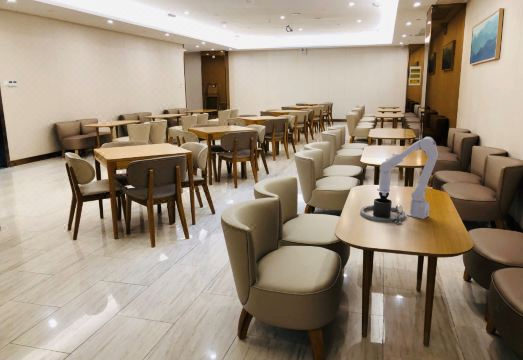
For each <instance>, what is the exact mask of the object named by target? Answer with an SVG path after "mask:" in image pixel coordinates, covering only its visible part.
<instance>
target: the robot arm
mask: <svg viewBox="0 0 523 360" xmlns="http://www.w3.org/2000/svg"><path fill="white" fill-rule="evenodd" d="M421 150H422V151H424V152H425V154H426V155H427V159H426V162H425V164H424V167H423V169H422V172H421V175H420V177H419V180H418V182H417V185H416V187H415V189H414V190H413V191H412V193H411V195H410V197H411V198H410V199H411V200H410V208H409V209H410V210H409V213H407V214H406V215H407V216H408V217H413V218H418V219H421V220H424V219H426V218H428V217H429V216H430V202H429V201H426V199H425V196H426V194H427V191H426V190H427V189H426V188H427V186H428V183H429V180H430V177H431V176H432V172H433V170H434V168H435V165H436V162H437V161H438V157H439V152H438V147H437V143H436V141H435V140H434V138H433V137H431V136H425V137H424V138H422V139H419V140H417V141H416V142H413V144H411V145H410V146H408V147H407V148H406V149H405V150H403V151H402V152H396V153H395V152H394V153H393V154H392V156H390V157H389V158H386V159H385V161H382V163H381V164H380V165H379V169H380V174H379V187H378V188H377V189H376V191H378V195H379V198H384V199H388V197H389V196H390V191H391V190H390V188H391V187H390V186H391V175H392V174H391V172H392V171H391V170H392V169H393V168H395V167H397V166H398V165H399V164H401V163H402V162H404V159H405V158H406V157H407V156H409V155H410V154H412V153H413V152H415V151H421Z"/></svg>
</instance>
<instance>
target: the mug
mask: <svg viewBox="0 0 523 360" xmlns="http://www.w3.org/2000/svg"><path fill="white" fill-rule="evenodd" d="M373 205H374V208H373V209H372V216H376V217H382V218H391V215H392V214H391V213H392V211H391V207H392V200H391V199H389V198H387V199H384V198H380V197H379V198H374V199H373Z"/></svg>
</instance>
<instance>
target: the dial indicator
mask: <svg viewBox="0 0 523 360" xmlns="http://www.w3.org/2000/svg"><path fill="white" fill-rule="evenodd" d="M395 208H396V212H395V213H397V214H396V216H394V218H397V221H394V222H393V224H395V225H397V226H398V225H402V224H403V222H402V221H399V217H400V215H401V214H400V213H402V211H404V210H403V206H402V205H401V204H396V206H395Z"/></svg>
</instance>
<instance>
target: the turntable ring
mask: <svg viewBox="0 0 523 360" xmlns="http://www.w3.org/2000/svg"><path fill="white" fill-rule="evenodd" d="M373 208H374V204H371V205H365V206H363V207H361V208H360V211H359V214H360V216H361V217H364V218H365V219H368V220H371V221H376V222H381V223H382V222H383V223H394V221H397V218H395V217H390V218H382V217H376V216H373V214H372V215H371V214H369V213H366V211H370V210H373ZM391 212H395V213H397V212H396V207H394V206H391ZM405 219H406V212H405V211H404V210H403V211H402V213H400V217H399V221H400V222H402V221H403V220H405Z"/></svg>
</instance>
